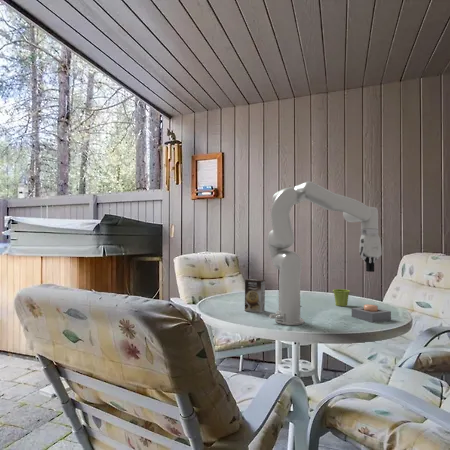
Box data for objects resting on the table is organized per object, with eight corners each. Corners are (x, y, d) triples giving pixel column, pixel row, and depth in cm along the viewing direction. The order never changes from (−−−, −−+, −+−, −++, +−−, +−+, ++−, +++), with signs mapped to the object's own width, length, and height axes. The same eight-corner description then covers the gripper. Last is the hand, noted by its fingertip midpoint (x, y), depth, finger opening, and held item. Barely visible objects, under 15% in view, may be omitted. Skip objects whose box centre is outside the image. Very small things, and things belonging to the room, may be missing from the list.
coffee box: (244, 311, 163) (244, 279, 164) (249, 308, 168) (249, 278, 169) (260, 313, 159) (260, 280, 159) (265, 310, 164) (265, 279, 165)
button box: (372, 322, 141) (372, 313, 141) (351, 316, 152) (351, 308, 152) (391, 320, 146) (390, 311, 146) (369, 314, 157) (369, 306, 157)
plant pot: (339, 307, 174) (339, 291, 174) (329, 304, 183) (329, 289, 183) (353, 306, 176) (353, 291, 177) (343, 303, 185) (343, 288, 186)
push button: (371, 313, 145) (371, 307, 146) (361, 311, 151) (361, 304, 151) (380, 312, 148) (380, 306, 148) (370, 310, 153) (370, 304, 153)
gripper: (364, 232, 145) (365, 272, 144) (387, 233, 151) (388, 271, 150) (351, 232, 152) (352, 271, 151) (374, 233, 158) (374, 270, 157)
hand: (370, 271), depth 150 cm, fingers closed
